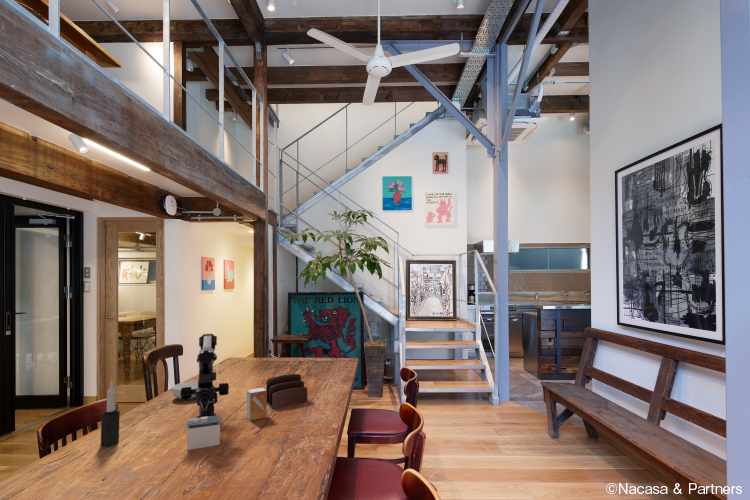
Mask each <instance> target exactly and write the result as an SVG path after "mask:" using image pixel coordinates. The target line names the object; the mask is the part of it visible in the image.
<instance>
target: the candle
mask: <svg viewBox="0 0 750 500" xmlns="http://www.w3.org/2000/svg"><path fill="white" fill-rule="evenodd" d="M113 384H114V383H113V382H111V381H110V386H109V388H108V389H107V391H106V392H107V393H106V410H104V412H103V413H101V420H100V421H101V422H100V423H101V425H100V426H101V427H100V447H104V448H111V447H113V446H115V445H117V444H119V443H120V442H119V441H120V417H121V416H120V413H121V412H120V411H119V410H118V409H117V408H116V395H117V394H116V393H117V391H116V389H115V387H114V385H113Z"/></svg>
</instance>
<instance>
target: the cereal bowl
mask: <svg viewBox="0 0 750 500" xmlns="http://www.w3.org/2000/svg"><path fill="white" fill-rule="evenodd" d="M183 387H191V390H195V389H196V388H198V381H186V382H181V383H177V384H174V385H173V386H172V387H171V392H172V395H173V396H174V397H175V398H177V399H180V400H181V389H182V388H183ZM192 399H196V394H194V395H192V396H191V398H190V399H189V400H192Z"/></svg>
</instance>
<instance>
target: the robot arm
mask: <svg viewBox="0 0 750 500" xmlns="http://www.w3.org/2000/svg"><path fill="white" fill-rule="evenodd" d="M217 339H218V336H217V335H215V334H214V333H204V334H202V335H201V336H200V337H198V347H200V349H199V351H198V353H199V354H197V355H196V356H197V357H196V363H198V380H197V382H198V388H196V389H195V390H191V387H183V388H182V389H181V399H180V400H182V401H184V400H185V401H188V400H191V399H190V398H191V396H192V395H194V394H196V397H195V400H196V402H197V403H196V404H197V405H196V406H197V407H198V406H199V410H198V411H199V412H198V413H199V415H197V416H196V418H201V417H207V416H208V417H209V416H216V415H217V414H216V413H215V404H217V403H218V395H219V396H228V395H229V393H230V392H229V388H230V387H229V384H230V383H228V382H220V383H218V386H215V385H214V384H213V382H214V381H217V371H216V372H215V371H214V363H215V361H216V360H217V359H218V356H217V354H216V353H215V350H216V346H217V345H218V342H217V341H218V340H217ZM187 399H188V400H187Z"/></svg>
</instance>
